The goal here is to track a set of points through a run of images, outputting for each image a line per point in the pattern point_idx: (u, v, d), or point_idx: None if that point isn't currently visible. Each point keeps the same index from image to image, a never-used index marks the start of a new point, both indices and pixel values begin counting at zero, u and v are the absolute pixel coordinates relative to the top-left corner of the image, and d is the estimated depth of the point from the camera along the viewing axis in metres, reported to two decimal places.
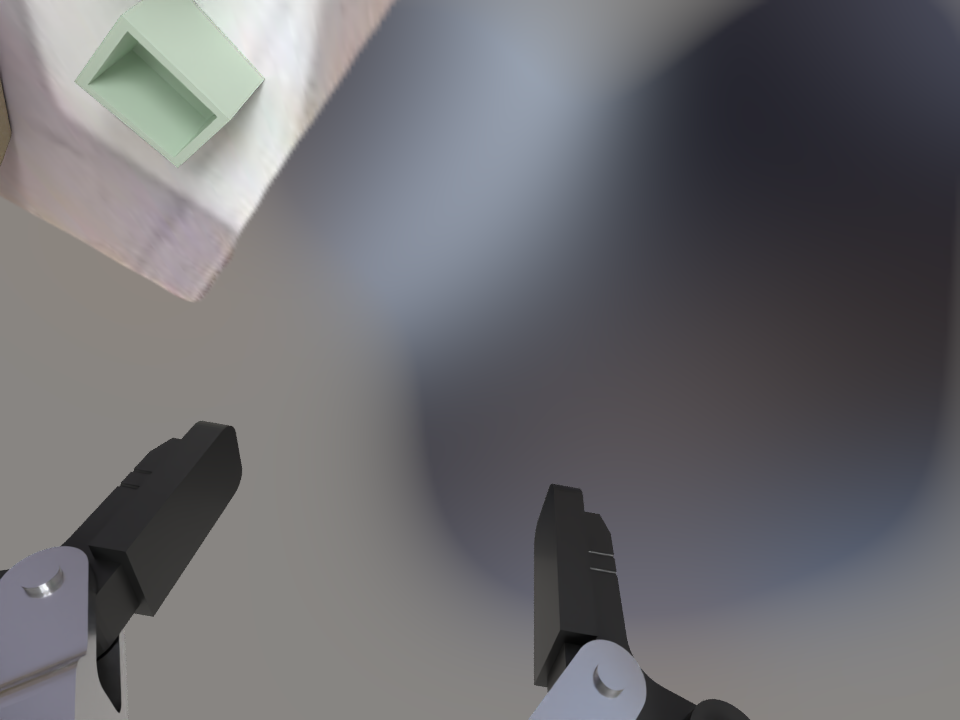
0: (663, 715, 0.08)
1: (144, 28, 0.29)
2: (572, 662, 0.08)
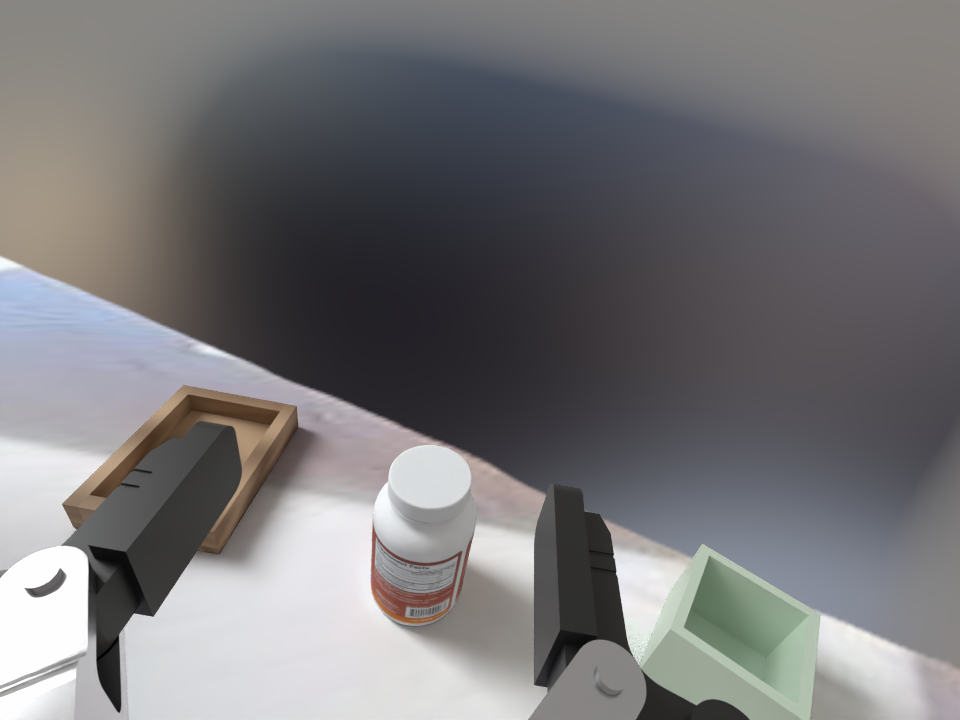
0: (663, 715, 0.08)
1: (672, 619, 0.28)
2: (572, 662, 0.08)
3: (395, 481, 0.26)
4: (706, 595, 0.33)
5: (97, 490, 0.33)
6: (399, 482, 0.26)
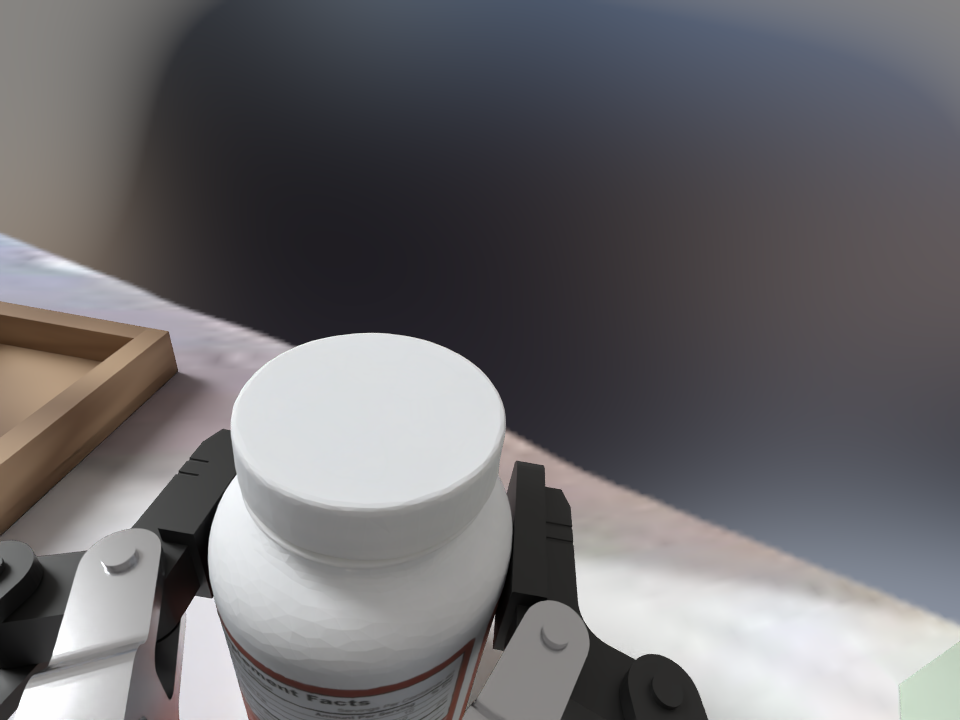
0: (606, 670, 0.09)
1: None
2: (519, 626, 0.08)
3: (251, 418, 0.08)
4: None
5: None
6: (264, 421, 0.08)
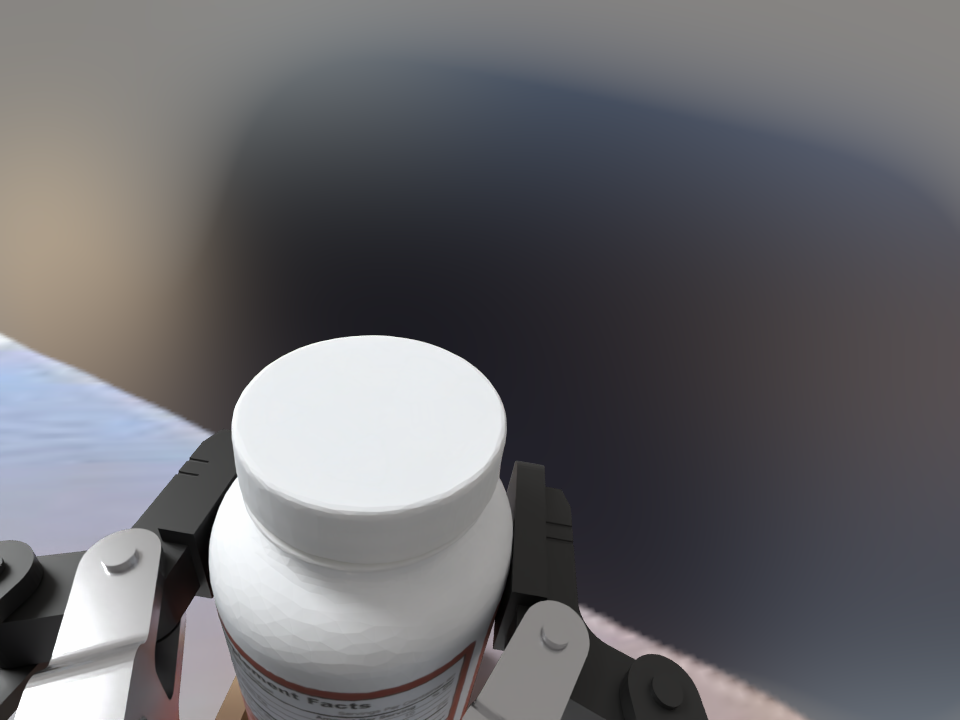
0: (606, 670, 0.09)
1: None
2: (519, 626, 0.08)
3: (253, 422, 0.08)
4: None
5: None
6: (264, 424, 0.08)
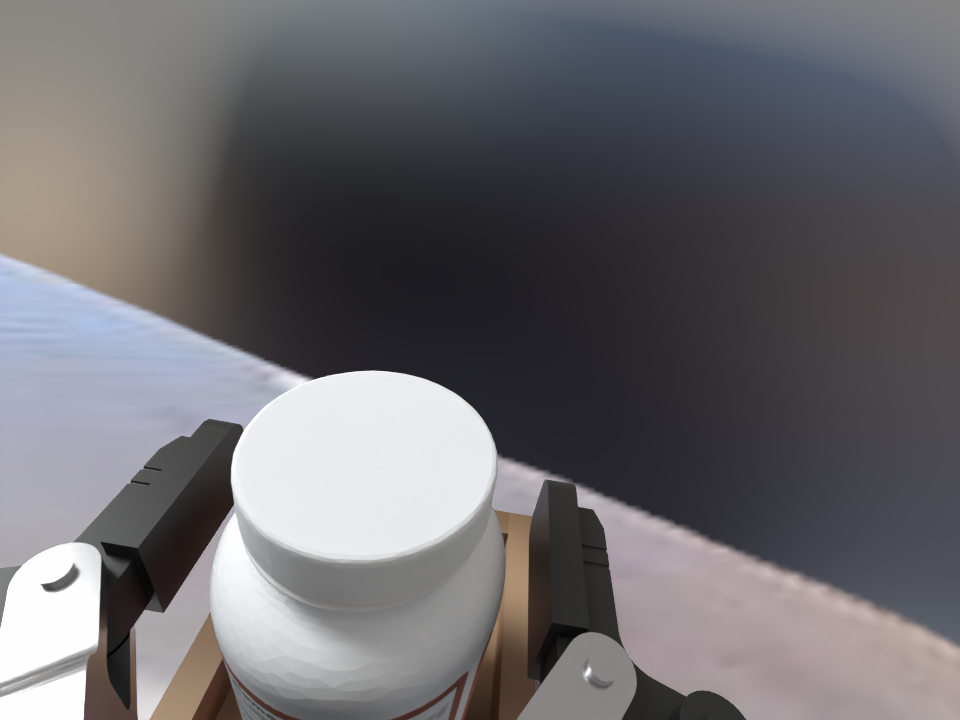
0: (653, 706, 0.08)
1: None
2: (563, 655, 0.08)
3: (251, 466, 0.08)
4: None
5: None
6: (262, 469, 0.08)
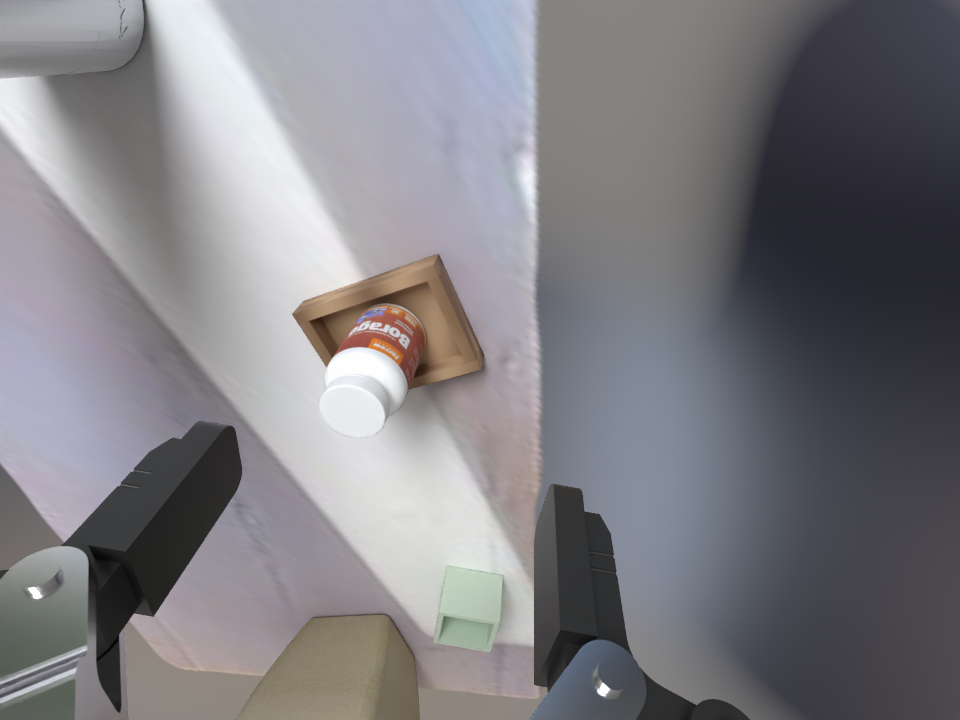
0: (663, 715, 0.08)
1: (448, 608, 0.57)
2: (572, 662, 0.08)
3: (327, 396, 0.33)
4: None
5: None
6: (328, 399, 0.33)
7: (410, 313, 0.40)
